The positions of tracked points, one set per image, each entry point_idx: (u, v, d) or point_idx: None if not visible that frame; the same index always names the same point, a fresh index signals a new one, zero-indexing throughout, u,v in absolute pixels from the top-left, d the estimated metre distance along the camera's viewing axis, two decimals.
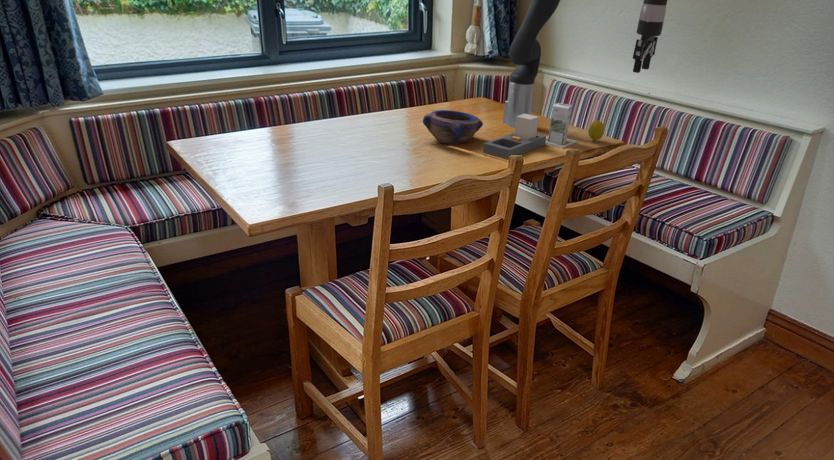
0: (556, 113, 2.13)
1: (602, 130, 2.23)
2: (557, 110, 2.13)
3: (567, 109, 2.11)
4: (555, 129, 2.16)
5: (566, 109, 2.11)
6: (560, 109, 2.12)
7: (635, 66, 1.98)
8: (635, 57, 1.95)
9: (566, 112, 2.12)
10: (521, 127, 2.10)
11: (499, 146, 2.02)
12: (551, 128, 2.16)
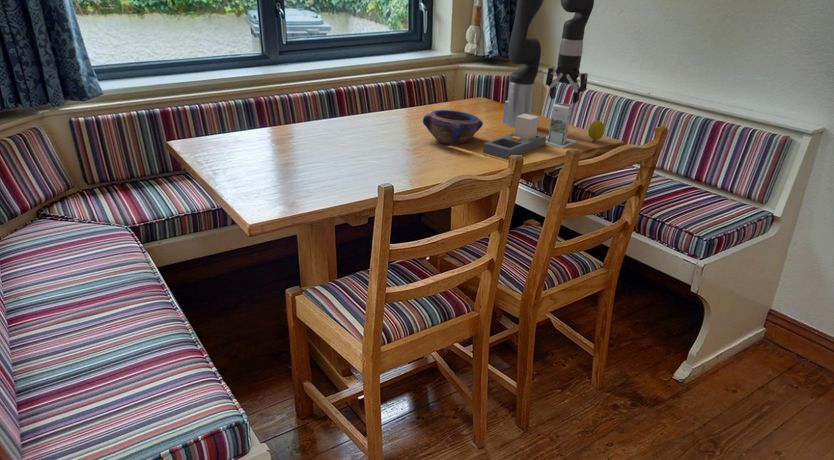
0: (556, 113, 2.13)
1: (602, 130, 2.23)
2: (557, 110, 2.13)
3: (567, 109, 2.11)
4: (555, 129, 2.16)
5: (566, 109, 2.11)
6: (560, 109, 2.12)
7: (577, 98, 2.09)
8: (583, 90, 2.07)
9: (566, 112, 2.12)
10: (521, 127, 2.10)
11: (499, 146, 2.02)
12: (551, 128, 2.16)
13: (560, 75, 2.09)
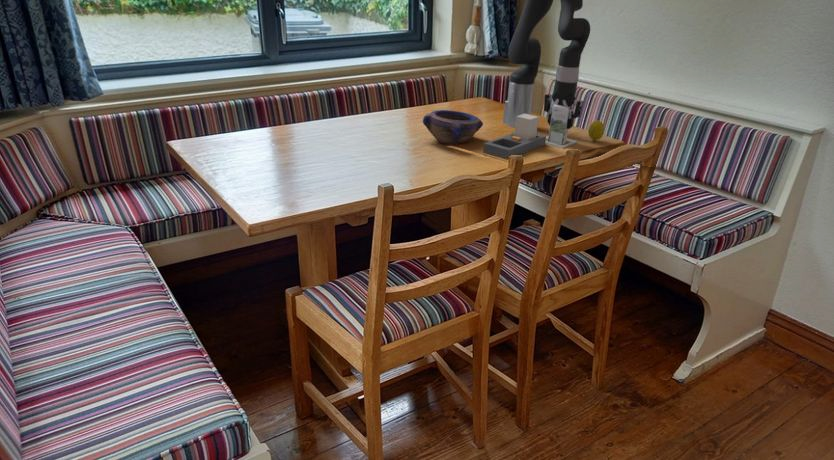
0: (556, 113, 2.13)
1: (602, 130, 2.23)
2: (557, 110, 2.13)
3: (567, 109, 2.11)
4: (555, 129, 2.16)
5: (566, 109, 2.11)
6: (560, 109, 2.12)
7: (571, 124, 2.14)
8: (577, 116, 2.12)
9: (566, 112, 2.12)
10: (521, 127, 2.10)
11: (499, 146, 2.02)
12: (551, 128, 2.16)
13: (556, 100, 2.13)
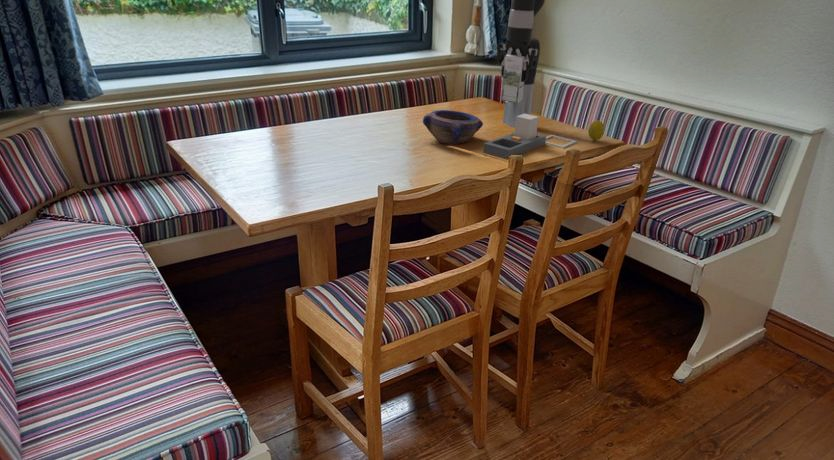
0: (509, 64, 1.92)
1: (602, 130, 2.23)
2: (511, 60, 1.92)
3: (521, 59, 1.90)
4: (509, 82, 1.95)
5: (520, 59, 1.90)
6: (514, 58, 1.91)
7: (526, 76, 1.93)
8: (532, 67, 1.91)
9: (520, 62, 1.91)
10: (521, 127, 2.10)
11: (499, 146, 2.02)
12: (504, 81, 1.95)
13: (509, 49, 1.92)
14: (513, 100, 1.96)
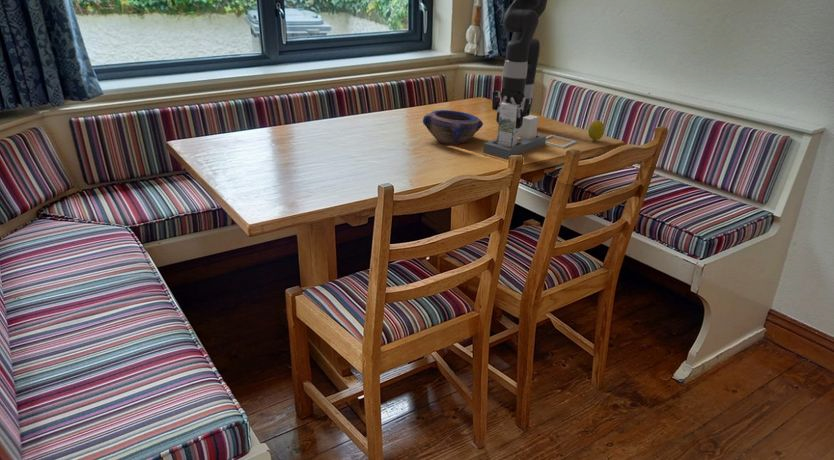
0: (504, 111, 1.99)
1: (602, 130, 2.23)
2: (505, 108, 1.98)
3: (515, 107, 1.97)
4: (504, 129, 2.01)
5: (514, 107, 1.97)
6: (508, 107, 1.97)
7: (520, 123, 1.99)
8: (526, 115, 1.97)
9: (514, 110, 1.97)
10: (521, 127, 2.10)
11: (499, 146, 2.02)
12: (499, 127, 2.01)
13: (504, 98, 1.98)
14: (508, 146, 2.03)
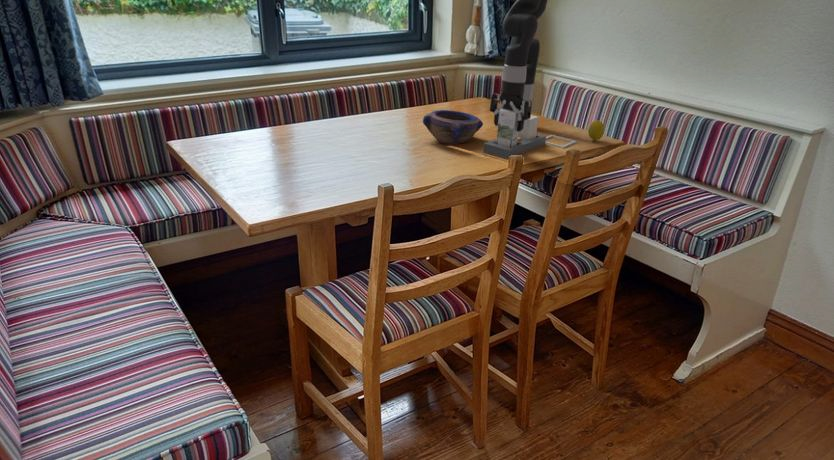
0: (502, 118, 2.00)
1: (602, 130, 2.23)
2: (504, 114, 1.99)
3: (514, 114, 1.98)
4: (502, 135, 2.02)
5: (513, 114, 1.98)
6: (507, 113, 1.98)
7: (521, 126, 1.99)
8: (527, 118, 1.97)
9: (513, 117, 1.98)
10: None
11: (499, 146, 2.02)
12: (498, 134, 2.03)
13: (503, 101, 1.99)
14: None
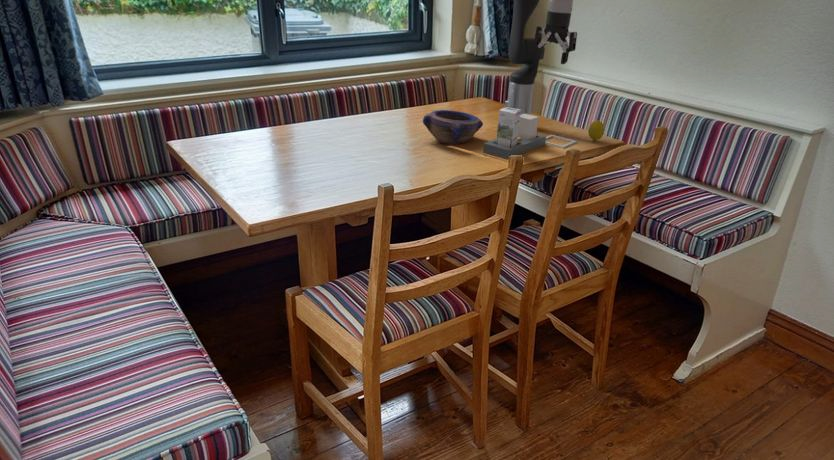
0: (502, 118, 2.00)
1: (602, 130, 2.23)
2: (504, 114, 1.99)
3: (514, 114, 1.98)
4: (502, 135, 2.02)
5: (513, 114, 1.98)
6: (507, 113, 1.98)
7: (566, 58, 1.99)
8: (572, 49, 1.97)
9: (513, 117, 1.98)
10: (521, 127, 2.10)
11: (499, 146, 2.02)
12: (498, 134, 2.03)
13: (548, 33, 1.99)
14: None
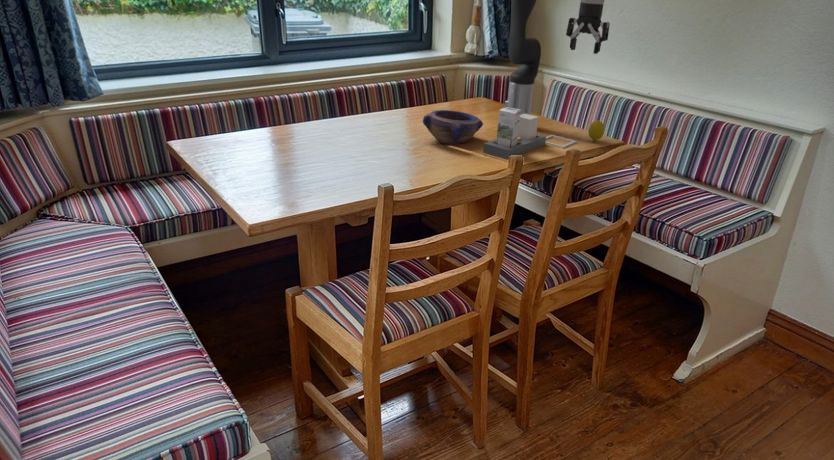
0: (502, 118, 2.00)
1: (602, 130, 2.23)
2: (504, 114, 1.99)
3: (514, 114, 1.98)
4: (502, 135, 2.02)
5: (513, 114, 1.98)
6: (507, 113, 1.98)
7: (598, 48, 2.07)
8: (605, 39, 2.04)
9: (513, 117, 1.98)
10: (521, 127, 2.10)
11: (499, 146, 2.02)
12: (498, 134, 2.03)
13: (581, 24, 2.06)
14: None
